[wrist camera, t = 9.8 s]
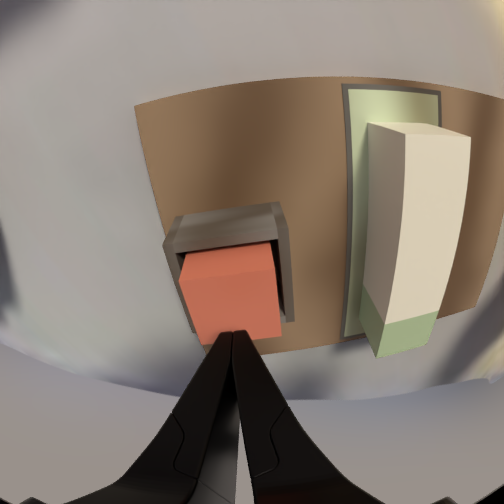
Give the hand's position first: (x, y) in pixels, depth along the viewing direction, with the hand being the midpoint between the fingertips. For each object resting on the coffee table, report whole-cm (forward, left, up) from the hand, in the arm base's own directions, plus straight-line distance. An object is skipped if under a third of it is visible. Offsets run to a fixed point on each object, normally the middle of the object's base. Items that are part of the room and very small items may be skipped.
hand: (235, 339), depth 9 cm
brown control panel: (-6, -3, -6) cm, 9 cm away
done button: (0, 0, -4) cm, 4 cm away
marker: (-7, -4, -5) cm, 10 cm away
